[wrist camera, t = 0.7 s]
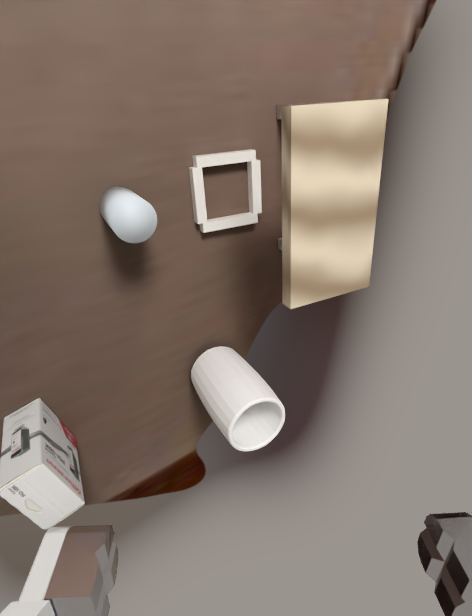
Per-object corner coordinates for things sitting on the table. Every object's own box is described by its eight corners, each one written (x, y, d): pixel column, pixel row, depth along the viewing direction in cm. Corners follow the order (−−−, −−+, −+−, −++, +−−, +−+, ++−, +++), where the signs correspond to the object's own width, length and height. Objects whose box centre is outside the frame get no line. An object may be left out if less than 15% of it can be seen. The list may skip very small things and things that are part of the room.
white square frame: (187, 156, 45) (191, 157, 44) (255, 148, 48) (259, 149, 47) (195, 231, 49) (199, 233, 48) (257, 219, 52) (262, 221, 51)
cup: (243, 339, 59) (295, 392, 48) (232, 387, 62) (279, 448, 51) (190, 341, 55) (233, 399, 44) (181, 392, 58) (220, 459, 47)
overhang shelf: (211, 109, 44) (291, 105, 31) (287, 104, 48) (388, 99, 34) (223, 260, 53) (290, 309, 39) (287, 246, 56) (368, 286, 43)
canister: (94, 189, 42) (106, 201, 36) (135, 183, 44) (153, 194, 38) (103, 229, 44) (116, 247, 38) (142, 222, 46) (160, 238, 40)
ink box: (77, 436, 53) (88, 506, 44) (43, 457, 52) (47, 533, 43) (39, 395, 49) (42, 463, 39) (1, 417, 48) (-6, 492, 38)
